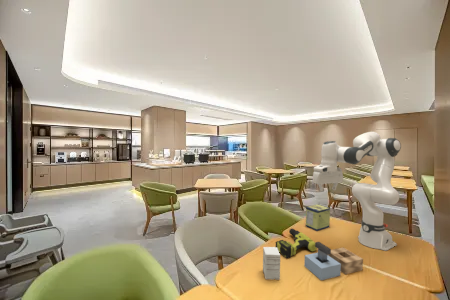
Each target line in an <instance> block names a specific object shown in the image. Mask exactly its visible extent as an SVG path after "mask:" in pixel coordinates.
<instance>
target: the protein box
mask: <svg viewBox="0 0 450 300" xmlns="http://www.w3.org/2000/svg"><path fill="white" fill-rule="evenodd" d="M330 215H331V207H329V206H324V205H322V204H317V203H316V204H314V205H310V206H306V207H305V227H306V228H309V229H311V230H313V231H315V232H318V231H322V230H326V229H328V228H330V222H331V221H330V220H331V219H330V218H331V216H330Z"/></svg>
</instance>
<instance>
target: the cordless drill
mask: <svg viewBox="0 0 450 300" xmlns="http://www.w3.org/2000/svg"><path fill="white" fill-rule="evenodd" d="M288 231H289V234H290V236H292V237H293V238H294V239H293V242H294V243H291V241H287V240H285V239H280V240H277V241H275V245H274V247H277V249H278V251H279V252H280V253H281V254H282V255H281V254H280V255H281V256H283V257H284V258H285V259H291V257H292V256H295V255H296V253H297V251H298V250H299V249H301V248H305V249H308V250H309V251H310V252H315V251H317V250H318V248H316V247H315V241H314V240H313V239H311V238H310V237H309V236H308V235H306V234H305V233H303V232H301V231H299V230H297V229H294V228H290V229H289V230H288Z"/></svg>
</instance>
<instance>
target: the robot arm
mask: <svg viewBox="0 0 450 300" xmlns="http://www.w3.org/2000/svg"><path fill="white" fill-rule="evenodd" d="M352 145H353V146H341V145H339V144H338V143H337V141H336V140H330V141H324V142H322V145H321V151H320V156H321V161H320V164H317V165H316V166H314V167H313V172H312V183H314V184H316V185H318V188H319V192H324V189H325V188H324V187H323V185H324V184H325V185H326V184H333V185H332V186H331V190H333V191H336V190H337V187H338V185H339V183H343V181H344V175H343V168H341V167H338V163H344V164H350V165H357V164H359V163H360V162H361V161H362V160H363V158H364V157H365V156H367V157H377V158H376V160H375V162H374V164H373V167H372V169H371V171H370V174H369V175H370V178H371V180H372V181H373V182H375V183H376V184H371V183H366V182H358V183H357V182H356V183H354V185H352V187H351V193H352V195H353V197H355V198H356V200H357V201H358V202H359V204H360V206H361V209H362V220H361V226H360V229H359V234H358V236H357V238H358V242H359V243H360V244H361V245H364V246H365V247H368V248H372V249H376V250H382V251H389V250H390V249H392V248H394V246H395V247H396V246H397V245H398V244H397V243H396V241H393V236H392V234H391V233H390V232H388V231H387V230H386V228H388V226H389V224H387V223H384V212H383V210H382V209H381V208H380V207H378V206H377V205H376V203H378V204H382V205H388V206H389V205H391V206H392V205H393V206H394V205H396V204H397V203H398V202H399V200H400V193H399V191H398V190H397V189H395V188H394V187H393V185H392V183H391V181H392V175H393V173H394V170H395V165H396V164H395V162H396V160H395V157H396V156H398V154H399V152H400V151H401V148H402V144H401V142H400V140H399V139H397V138H395V137H388V138H381V135H380V133H378V132H376V131H367V132H364V133H362V134H359V135H357V136H356V137H355V138H353V140H352Z"/></svg>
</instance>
